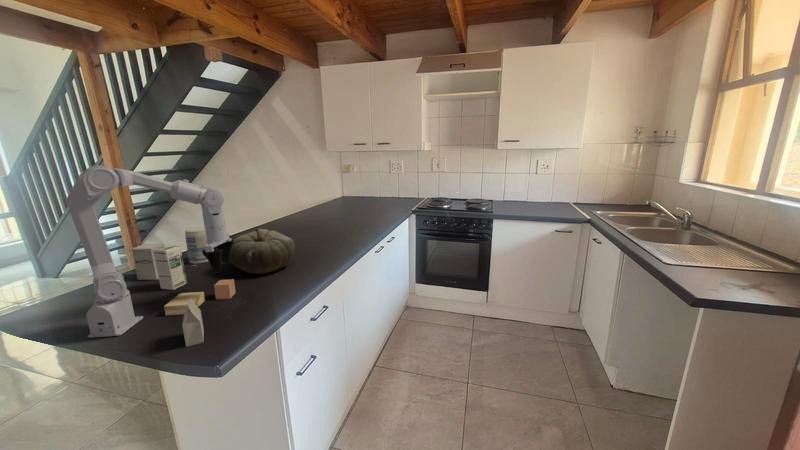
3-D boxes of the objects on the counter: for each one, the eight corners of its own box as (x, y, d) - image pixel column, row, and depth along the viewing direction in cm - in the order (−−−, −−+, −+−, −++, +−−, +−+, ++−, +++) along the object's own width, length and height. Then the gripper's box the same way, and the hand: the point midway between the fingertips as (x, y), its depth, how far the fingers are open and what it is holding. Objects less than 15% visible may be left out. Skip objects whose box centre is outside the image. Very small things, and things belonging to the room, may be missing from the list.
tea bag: (203, 329, 86) (198, 296, 84) (203, 342, 80) (197, 306, 78) (187, 333, 84) (181, 299, 82) (186, 346, 78) (179, 310, 76)
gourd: (263, 249, 148) (261, 214, 141) (308, 263, 141) (308, 227, 134) (217, 273, 126) (212, 233, 119) (268, 291, 119) (265, 250, 112)
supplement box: (137, 280, 119) (130, 248, 116) (151, 273, 126) (145, 243, 124) (156, 280, 119) (150, 248, 117) (170, 272, 127) (164, 242, 124)
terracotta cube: (230, 298, 104) (228, 284, 103) (216, 299, 104) (214, 285, 102) (235, 292, 108) (233, 279, 107) (221, 293, 108) (219, 280, 107)
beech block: (191, 313, 94) (189, 304, 93) (165, 315, 93) (163, 306, 93) (205, 300, 103) (203, 291, 102) (182, 301, 102) (180, 293, 101)
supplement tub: (188, 265, 134) (182, 232, 131) (190, 259, 142) (185, 227, 139) (214, 262, 139) (209, 229, 135) (215, 256, 147) (210, 225, 144)
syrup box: (173, 290, 111) (166, 250, 107) (160, 288, 112) (152, 249, 108) (187, 283, 116) (181, 246, 113) (174, 282, 117) (167, 245, 114)
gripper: (219, 231, 95) (227, 273, 98) (235, 220, 108) (241, 257, 112) (194, 232, 93) (202, 275, 97) (213, 221, 107) (220, 259, 111)
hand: (221, 265), depth 104 cm, fingers open, 7 cm apart
